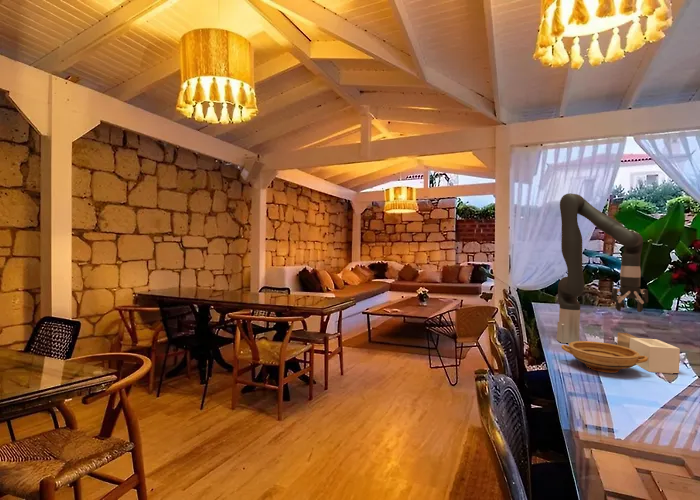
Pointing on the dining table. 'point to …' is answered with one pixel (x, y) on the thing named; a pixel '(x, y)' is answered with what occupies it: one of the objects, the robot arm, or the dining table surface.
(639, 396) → the dining table surface
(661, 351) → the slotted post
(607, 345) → the ceramic bowl
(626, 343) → the tan wooden block
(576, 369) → the dining table surface
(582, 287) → the robot arm
